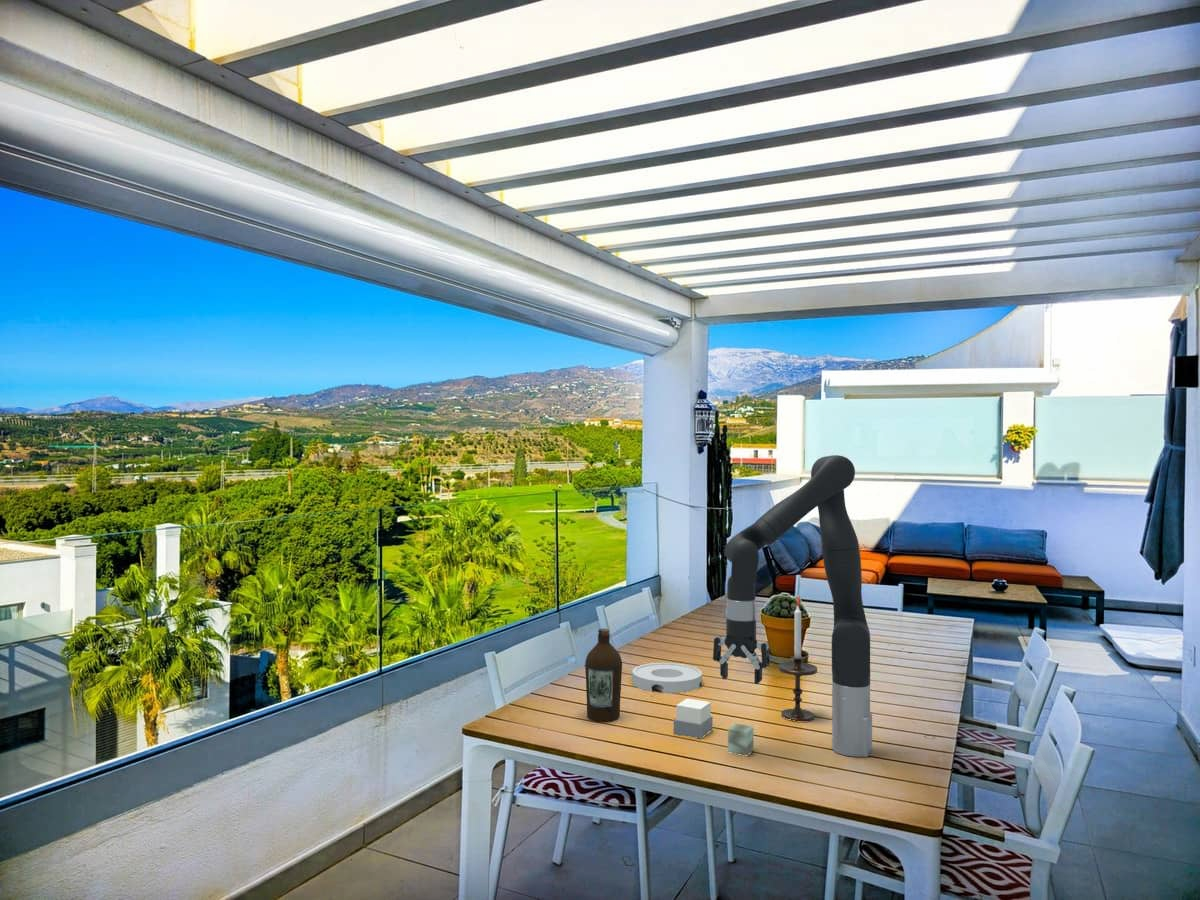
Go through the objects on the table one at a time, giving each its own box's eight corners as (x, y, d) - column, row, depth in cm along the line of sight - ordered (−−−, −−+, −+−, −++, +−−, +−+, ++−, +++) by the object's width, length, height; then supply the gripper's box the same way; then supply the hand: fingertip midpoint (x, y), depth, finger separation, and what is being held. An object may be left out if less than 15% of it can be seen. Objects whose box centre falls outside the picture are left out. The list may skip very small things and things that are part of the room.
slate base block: (712, 731, 212) (712, 716, 212) (701, 740, 205) (701, 725, 205) (685, 726, 216) (685, 711, 216) (673, 734, 209) (673, 720, 209)
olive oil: (589, 709, 228) (590, 624, 229) (625, 712, 226) (625, 626, 226) (580, 721, 218) (581, 632, 218) (617, 724, 216) (618, 634, 216)
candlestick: (802, 709, 230) (802, 591, 231) (825, 720, 220) (825, 597, 220) (770, 713, 226) (771, 593, 227) (792, 725, 216) (793, 599, 217)
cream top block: (710, 716, 211) (710, 702, 211) (700, 724, 205) (700, 709, 205) (686, 712, 215) (686, 698, 215) (676, 720, 209) (676, 705, 209)
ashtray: (652, 697, 242) (652, 684, 242) (620, 678, 263) (620, 666, 263) (715, 689, 251) (715, 676, 251) (679, 671, 272) (679, 660, 272)
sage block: (753, 750, 197) (753, 726, 197) (746, 756, 193) (746, 732, 193) (734, 746, 199) (734, 723, 200) (727, 753, 195) (727, 729, 195)
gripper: (773, 617, 196) (772, 681, 196) (720, 611, 203) (719, 673, 203) (763, 622, 190) (763, 688, 190) (709, 616, 197) (709, 680, 197)
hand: (740, 680), depth 196 cm, fingers open, 8 cm apart
